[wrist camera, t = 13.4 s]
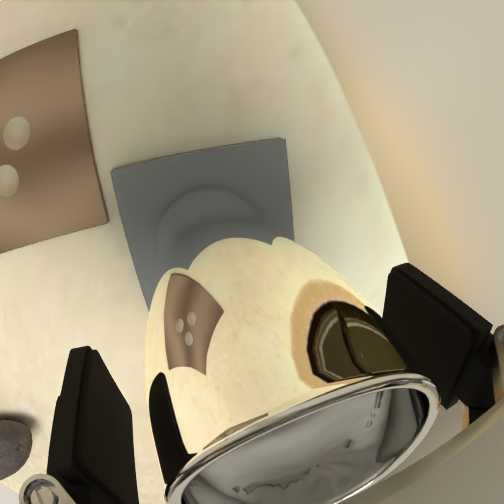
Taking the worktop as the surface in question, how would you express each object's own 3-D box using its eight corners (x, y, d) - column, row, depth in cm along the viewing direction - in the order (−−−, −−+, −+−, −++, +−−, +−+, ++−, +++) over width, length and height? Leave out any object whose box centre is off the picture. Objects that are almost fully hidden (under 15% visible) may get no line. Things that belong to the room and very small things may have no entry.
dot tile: (-69, 102, 10) (-72, 102, 10) (77, 30, 13) (75, 28, 12) (-33, 262, 15) (-36, 265, 15) (108, 221, 18) (107, 223, 17)
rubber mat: (113, 168, 17) (110, 171, 16) (279, 137, 18) (285, 139, 18) (152, 314, 21) (153, 322, 20) (291, 281, 23) (297, 287, 22)
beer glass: (170, 162, 16) (214, 350, 3) (282, 200, 19) (488, 363, 6) (136, 274, 18) (135, 534, 5) (240, 299, 21) (346, 511, 8)
